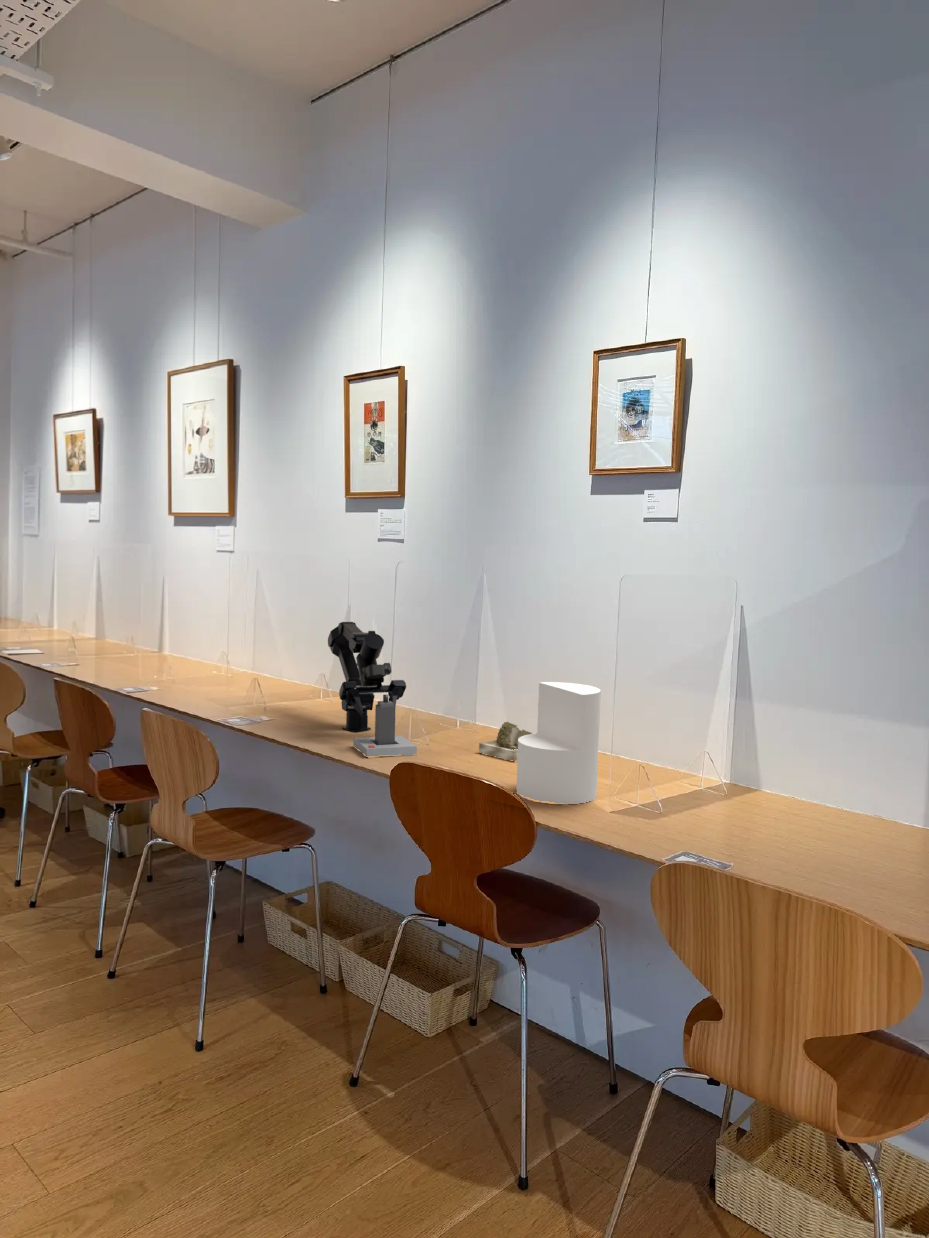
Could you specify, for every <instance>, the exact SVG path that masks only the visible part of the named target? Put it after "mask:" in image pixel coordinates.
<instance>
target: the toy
mask: <svg viewBox="0 0 929 1238" xmlns="http://www.w3.org/2000/svg"><path fill="white" fill-rule="evenodd" d="M529 734H534V733H533V732H530V731H527V730H526V729H525V730H524V729H519V727H518V725H517V724H515V723H511V722H509V721H504V722H503V723H502V725H501V727H500V728H499V729H498V733H497V736H496V740H498V744H500V743H501V744H502V745H503V748H506V747H508V746H515V747H516V748H517V749H518V738H520V737H521V736H524V735H529Z"/></svg>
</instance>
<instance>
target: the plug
mask: <svg viewBox="0 0 929 1238" xmlns="http://www.w3.org/2000/svg"><path fill="white" fill-rule="evenodd" d="M374 710H375V715H374V717H375V721H374V737H375V744H376V745H391V744H395V736H396V707H395V706H394V703H393V702H391V701H389V695H388V694H383V695H382V700H378V701H377V704H375V709H374Z"/></svg>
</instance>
